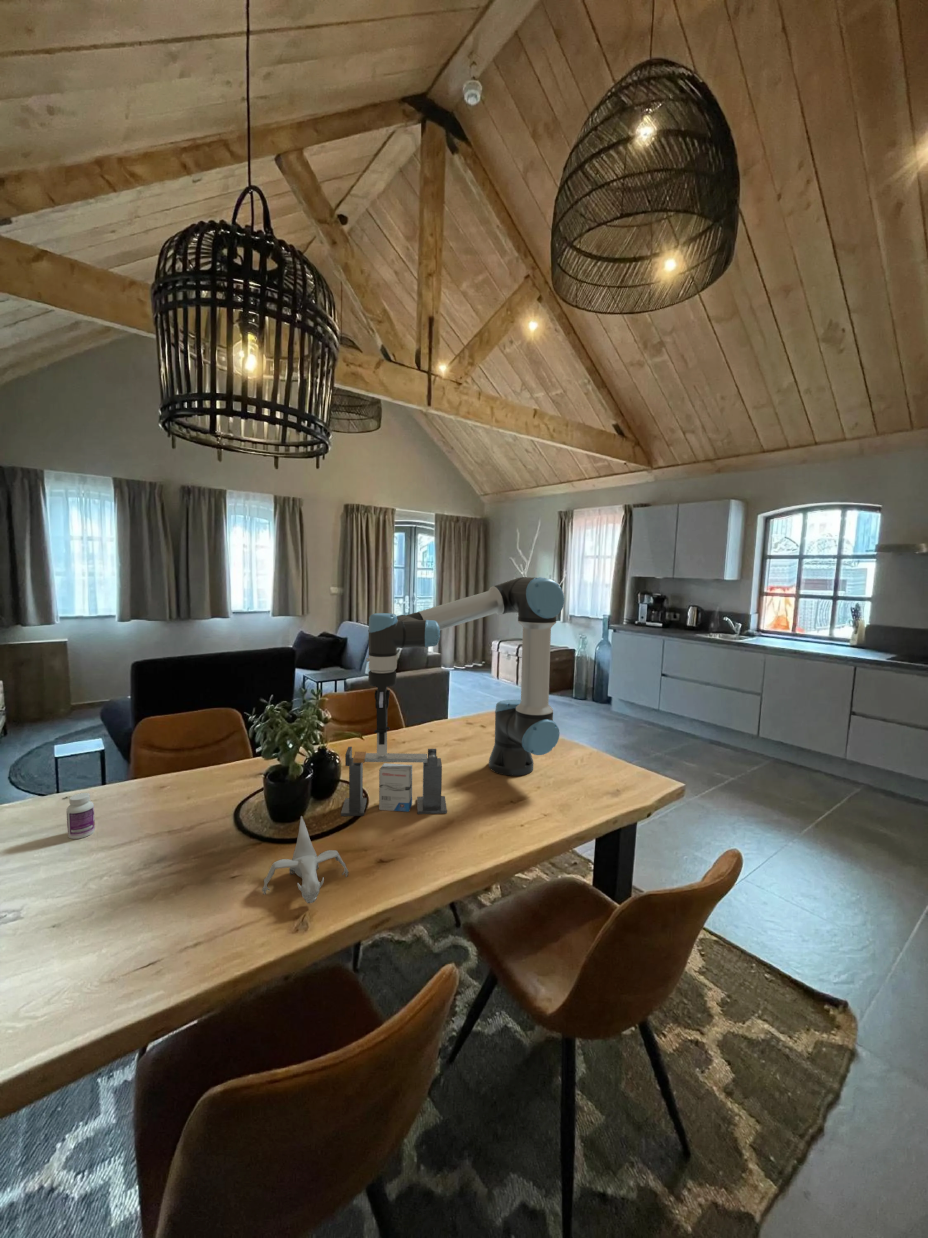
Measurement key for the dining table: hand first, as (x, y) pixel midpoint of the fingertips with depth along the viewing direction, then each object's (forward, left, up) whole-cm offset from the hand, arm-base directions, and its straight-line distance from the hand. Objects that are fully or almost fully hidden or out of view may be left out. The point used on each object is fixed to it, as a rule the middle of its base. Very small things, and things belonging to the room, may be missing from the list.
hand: (381, 754), depth 139 cm
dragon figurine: (+14, +33, -16) cm, 39 cm away
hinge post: (-14, 0, -15) cm, 21 cm away
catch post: (+7, 0, -15) cm, 17 cm away
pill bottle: (+72, +10, -16) cm, 74 cm away
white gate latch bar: (-4, 0, -2) cm, 4 cm away
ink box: (-4, 0, -16) cm, 16 cm away
